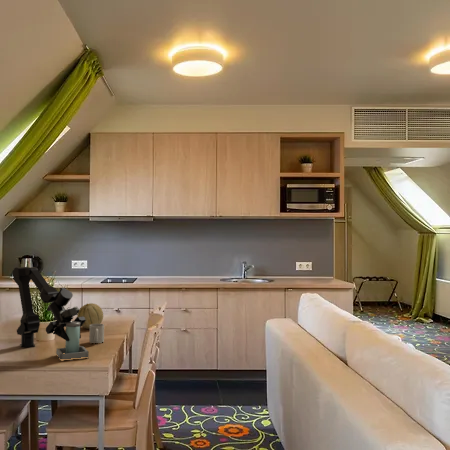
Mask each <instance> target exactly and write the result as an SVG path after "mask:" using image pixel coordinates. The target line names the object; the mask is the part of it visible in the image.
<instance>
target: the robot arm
mask: <svg viewBox="0 0 450 450" xmlns="http://www.w3.org/2000/svg"><path fill="white" fill-rule="evenodd" d="M11 272H12V273H11V274H12V277H13V281H14V283H15V284H16V285H17V286H18V292H19V297H20V304H21V309H22V310H21V311H22V316H21V318H20V320H19V321H20V324H19V326H18V327H17V329H16V334H17V335H20V337H21V339H20V340H21V341H20V342H21V343H20V344H19V347H20V348H21V347H24V348H32V347H36V344H35V342H34V341H35V336H34V335H35V334H36V333H39V329H40V325H41V322H40V321H41V320H40V316H39V314H37V313H35V312H34V311H35V310H34V306H33V300H32V299H33V298H32V293H31V288H30V287H31V286H30V282H31V281H32V283H33V284H34V285H35V287H36V288H37V289H38V291H39V296H40V299H41V301H42V302H43V303H44V304H48V305H47V309H46V310H47V311H46V312H51V313H52V315H53V318H52V319H53V321H50V322H49V323H48V324H47V326H46V327H45V332H46V334H47V335H50V334H53V335H56V336H58V337H60V338H61V339H63V340H64V341H65V342H66V341H69V338H68V336H67V334H66V329H65V328H66V323H67V322H80V328H82V325H83V324H84V322H85V321H86V319H85V317H84V316H81V317H77V314H78V313H79V309H80V308H79V307H78V306H73V307H72V308H67V309H66V308H65V306H67V304H68V303H69V302H70V301H71V299H72V298H73V296H74V295H73V293H72V291H70V290H69V289H66V288H65V287H60V289H59V290H58V289H57V288H55V287H53V286H51V285H50V284H49V283H48V282H47V280H46V279H45V278H44V276H43V275H42V274H41V273H40V271H39V268H38V267H37V266H32V267H29V266H20V267H19V266H18V267H14V268H13V270H12V271H11ZM49 303H50V304H49ZM74 316H76V317H75V319H74ZM73 319H74V320H73ZM81 338H82V334H81V333H80V339H81Z"/></svg>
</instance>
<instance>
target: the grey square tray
mask: <svg viewBox="0 0 450 450" xmlns="http://www.w3.org/2000/svg"><path fill="white" fill-rule="evenodd" d="M55 351H56V353H55V354H57V355H58V357H59V358H60V359H71V358H81V357H88V358H89V357H90V356H89V350H88V349H86V347H84V345H79V352H76V353H67V354H63V353H65V347H59V348H56V350H55ZM57 355H56V356H57ZM58 357H57V358H58ZM59 358H58V359H59Z"/></svg>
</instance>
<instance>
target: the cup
mask: <svg viewBox="0 0 450 450" xmlns="http://www.w3.org/2000/svg"><path fill="white" fill-rule="evenodd" d="M88 336H89V338H88V340H89V344H91V343H101V344H103V343H104V341H105V324H104V323H101V324H91V325H90V329H89V335H88ZM102 342H103V343H102Z"/></svg>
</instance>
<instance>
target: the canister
mask: <svg viewBox="0 0 450 450" xmlns="http://www.w3.org/2000/svg"><path fill="white" fill-rule="evenodd" d="M65 332H66V334H67V336H68V338H69V341H66V340H65V347H64V348H65V354H67V353H76V352H79V346H80V339H81V338H80V334H81V327H80V322H67V323H66V327H65Z"/></svg>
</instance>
